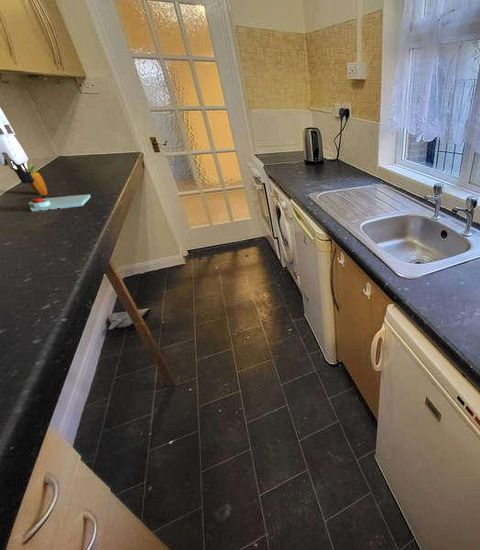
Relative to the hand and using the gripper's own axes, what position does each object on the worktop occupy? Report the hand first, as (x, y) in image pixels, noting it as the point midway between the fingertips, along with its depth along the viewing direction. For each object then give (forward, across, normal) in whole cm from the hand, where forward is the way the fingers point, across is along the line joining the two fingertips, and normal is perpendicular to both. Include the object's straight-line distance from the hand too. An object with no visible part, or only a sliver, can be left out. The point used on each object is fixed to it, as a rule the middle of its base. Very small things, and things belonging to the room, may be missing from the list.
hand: (28, 182), depth 115 cm
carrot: (+11, -17, -4) cm, 20 cm away
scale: (+11, -5, +5) cm, 13 cm away
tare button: (+8, 0, -1) cm, 8 cm away
